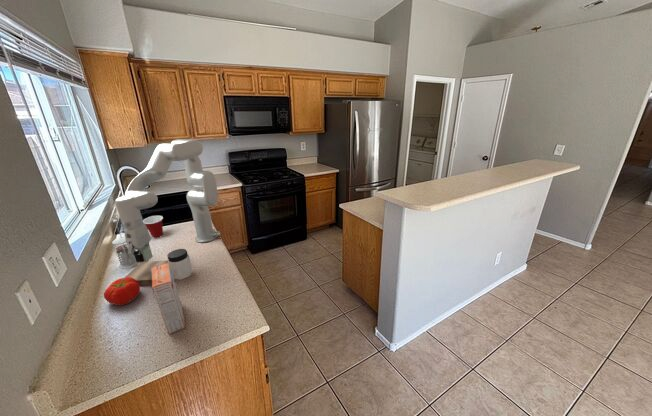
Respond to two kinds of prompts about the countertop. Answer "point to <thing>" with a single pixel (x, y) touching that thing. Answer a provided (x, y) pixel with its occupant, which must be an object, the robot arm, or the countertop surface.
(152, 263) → the walnut base
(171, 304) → the cracker box
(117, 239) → the french press
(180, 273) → the jar
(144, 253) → the sage block
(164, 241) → the countertop surface
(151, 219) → the plastic cup
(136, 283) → the tomato
